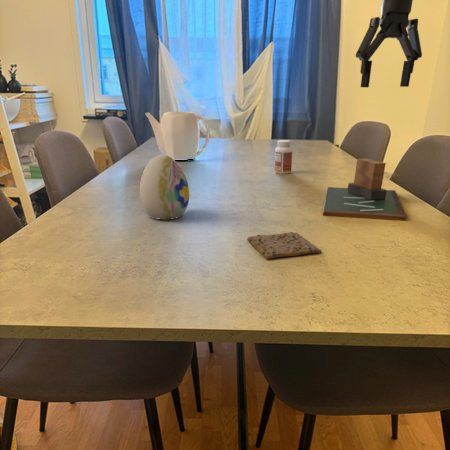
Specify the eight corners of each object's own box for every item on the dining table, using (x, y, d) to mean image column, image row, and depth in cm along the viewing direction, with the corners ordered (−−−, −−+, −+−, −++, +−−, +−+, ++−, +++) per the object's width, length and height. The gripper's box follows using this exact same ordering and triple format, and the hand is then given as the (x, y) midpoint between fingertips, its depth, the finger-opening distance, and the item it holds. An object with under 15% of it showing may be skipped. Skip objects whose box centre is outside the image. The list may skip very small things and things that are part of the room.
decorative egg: (177, 224, 104) (173, 160, 97) (133, 219, 107) (126, 157, 101) (197, 211, 114) (195, 152, 107) (156, 207, 118) (152, 149, 111)
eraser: (385, 199, 120) (391, 163, 116) (370, 200, 119) (376, 164, 114) (361, 190, 129) (366, 157, 125) (347, 191, 128) (351, 158, 124)
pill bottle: (291, 171, 161) (293, 139, 156) (290, 174, 156) (292, 142, 151) (274, 170, 162) (276, 139, 157) (273, 173, 157) (274, 141, 152)
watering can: (152, 156, 193) (148, 110, 184) (211, 156, 192) (210, 110, 184) (145, 162, 179) (140, 113, 171) (208, 162, 178) (207, 113, 170)
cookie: (322, 252, 86) (323, 248, 86) (266, 259, 83) (266, 255, 83) (297, 234, 96) (297, 230, 96) (246, 239, 93) (246, 235, 93)
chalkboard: (394, 193, 130) (395, 190, 129) (405, 220, 106) (406, 216, 105) (326, 190, 134) (327, 186, 134) (322, 215, 110) (323, 211, 109)
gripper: (425, 0, 119) (411, 86, 129) (348, -4, 112) (339, 87, 122) (446, -4, 113) (429, 86, 123) (366, -9, 106) (355, 87, 115)
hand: (384, 87), depth 122 cm, fingers open, 13 cm apart
